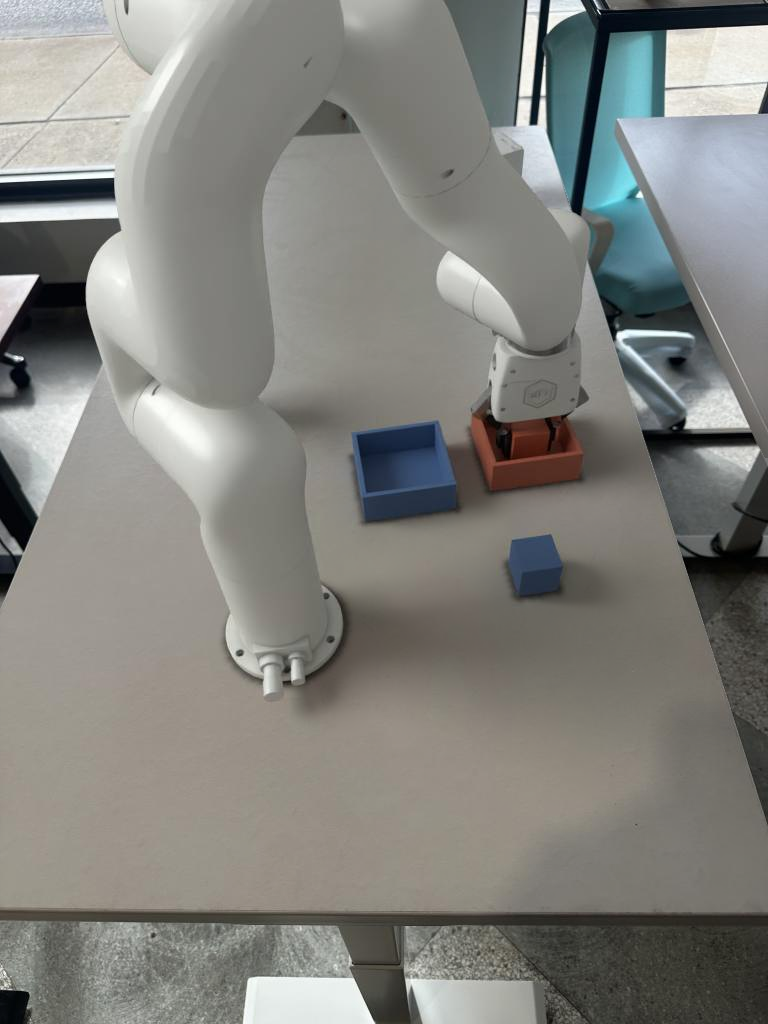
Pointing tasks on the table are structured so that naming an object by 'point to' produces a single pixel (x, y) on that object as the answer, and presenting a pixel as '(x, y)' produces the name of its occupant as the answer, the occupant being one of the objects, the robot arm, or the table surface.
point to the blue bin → (403, 471)
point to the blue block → (535, 565)
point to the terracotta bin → (527, 459)
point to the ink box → (510, 151)
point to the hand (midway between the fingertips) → (524, 445)
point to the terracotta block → (529, 439)
